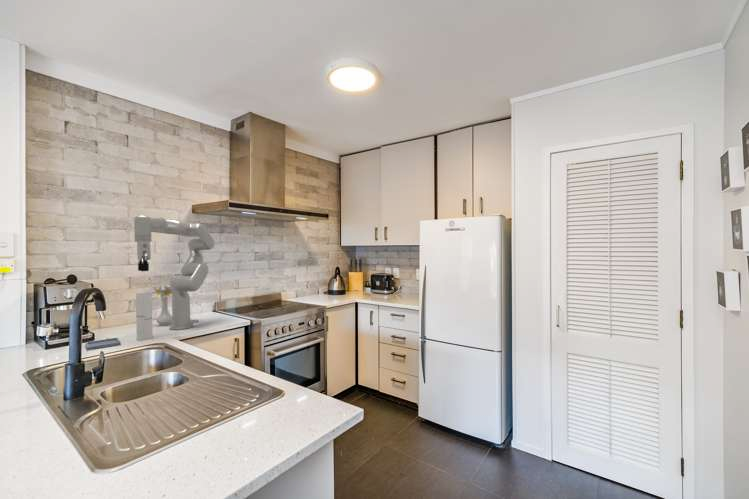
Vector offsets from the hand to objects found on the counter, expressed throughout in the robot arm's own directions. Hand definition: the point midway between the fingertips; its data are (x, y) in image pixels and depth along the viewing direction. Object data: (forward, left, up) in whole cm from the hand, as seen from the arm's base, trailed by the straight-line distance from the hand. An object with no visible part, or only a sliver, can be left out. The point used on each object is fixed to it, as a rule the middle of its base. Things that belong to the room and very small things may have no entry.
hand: (143, 270), depth 182 cm
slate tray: (+17, 0, -36) cm, 40 cm away
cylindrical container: (0, 0, -37) cm, 37 cm away
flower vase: (-15, -32, -37) cm, 51 cm away
